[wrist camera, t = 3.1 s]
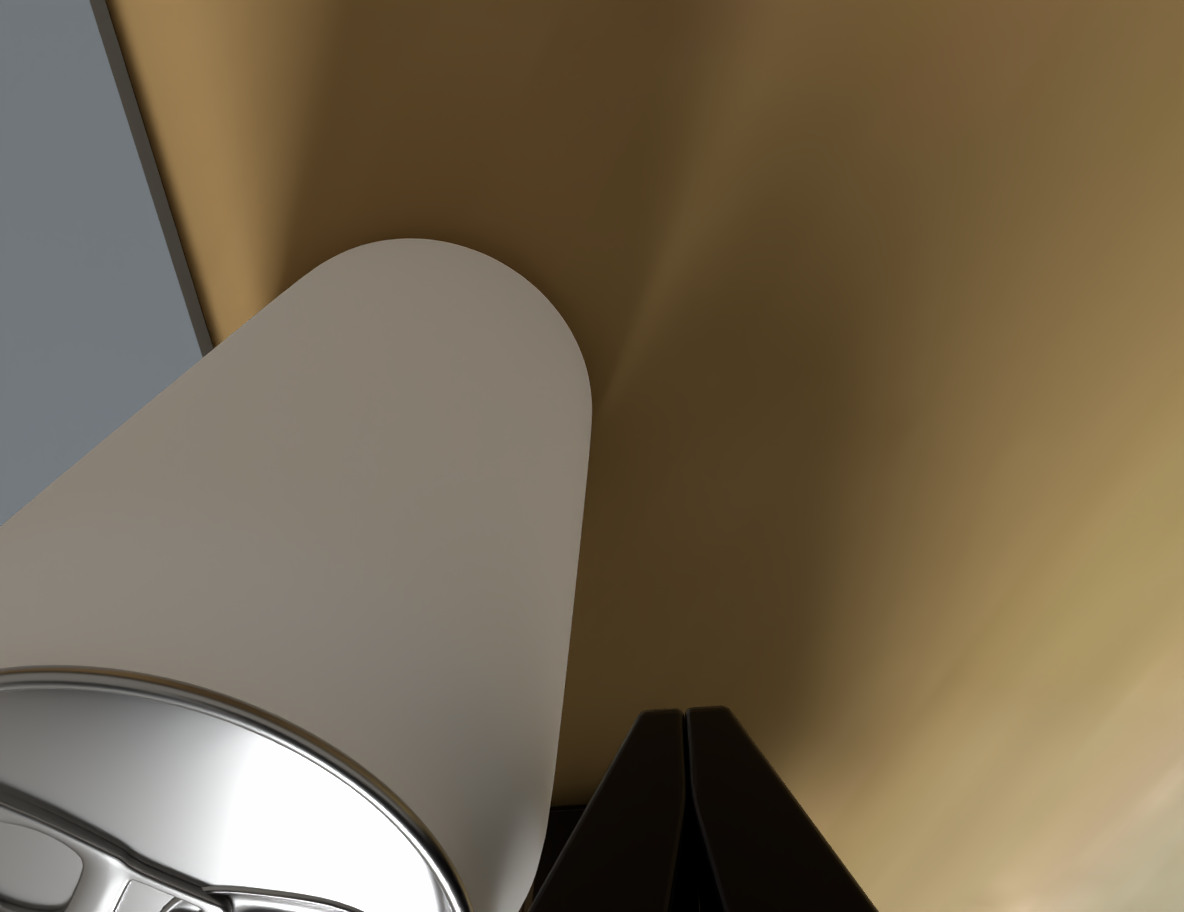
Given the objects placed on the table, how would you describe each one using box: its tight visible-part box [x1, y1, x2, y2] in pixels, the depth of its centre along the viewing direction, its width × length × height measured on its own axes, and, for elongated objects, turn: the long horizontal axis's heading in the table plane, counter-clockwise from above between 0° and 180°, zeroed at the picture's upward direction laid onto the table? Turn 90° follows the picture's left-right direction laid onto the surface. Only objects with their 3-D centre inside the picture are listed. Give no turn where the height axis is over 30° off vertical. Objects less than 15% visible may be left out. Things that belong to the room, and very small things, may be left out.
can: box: [0, 238, 592, 912], centre depth 13 cm, size 6×6×12 cm
